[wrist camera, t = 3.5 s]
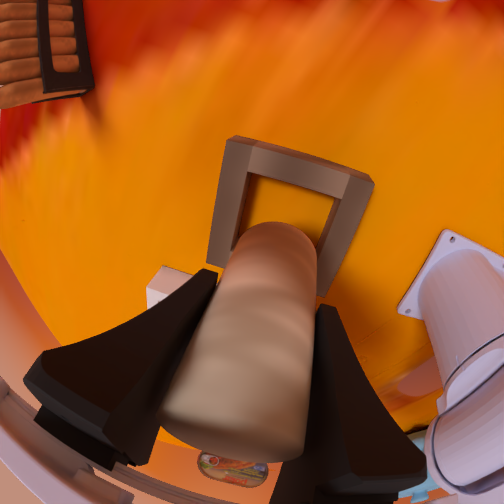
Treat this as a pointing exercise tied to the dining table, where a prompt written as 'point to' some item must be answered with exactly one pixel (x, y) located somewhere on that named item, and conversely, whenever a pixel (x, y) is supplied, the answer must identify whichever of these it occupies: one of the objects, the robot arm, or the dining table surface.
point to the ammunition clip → (43, 51)
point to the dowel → (251, 353)
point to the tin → (232, 470)
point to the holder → (296, 172)
